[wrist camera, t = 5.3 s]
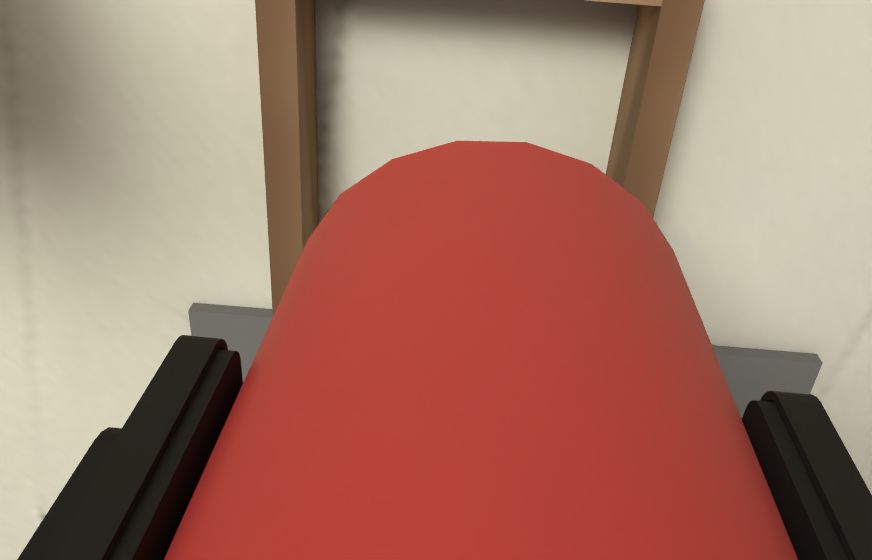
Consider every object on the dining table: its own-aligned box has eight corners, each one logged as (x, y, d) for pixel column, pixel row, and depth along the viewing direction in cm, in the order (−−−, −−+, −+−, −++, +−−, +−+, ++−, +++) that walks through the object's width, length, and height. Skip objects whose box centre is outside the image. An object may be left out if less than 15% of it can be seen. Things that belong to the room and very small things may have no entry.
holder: (687, -49, 20) (717, -32, 17) (610, 303, 25) (624, 353, 23) (276, -80, 20) (246, -69, 17) (290, 277, 26) (270, 324, 23)
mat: (816, 354, 26) (822, 362, 26) (693, 660, 35) (695, 670, 35) (193, 302, 26) (188, 310, 26) (231, 620, 36) (228, 630, 35)
